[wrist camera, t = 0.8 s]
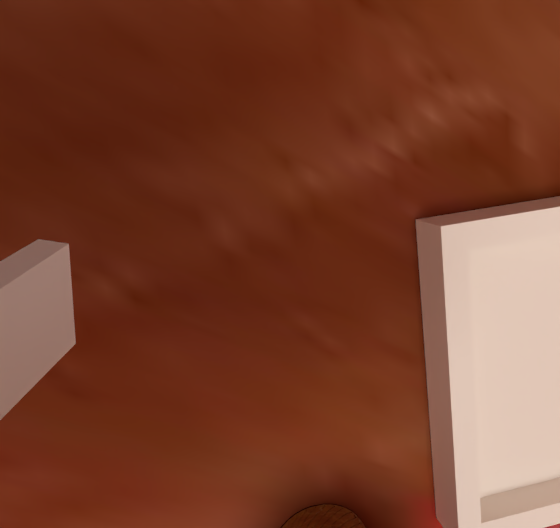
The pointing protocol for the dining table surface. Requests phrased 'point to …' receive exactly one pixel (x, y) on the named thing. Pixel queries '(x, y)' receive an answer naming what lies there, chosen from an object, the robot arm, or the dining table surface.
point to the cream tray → (493, 363)
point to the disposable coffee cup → (325, 518)
